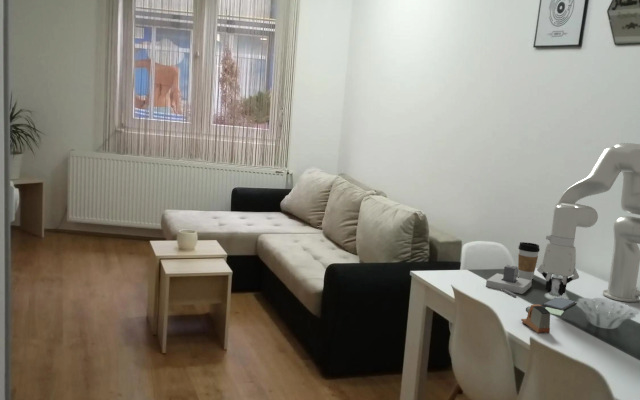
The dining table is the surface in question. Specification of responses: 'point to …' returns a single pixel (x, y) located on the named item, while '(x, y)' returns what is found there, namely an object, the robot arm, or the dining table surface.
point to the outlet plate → (509, 284)
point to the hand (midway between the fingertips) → (555, 292)
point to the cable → (509, 293)
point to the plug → (555, 286)
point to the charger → (510, 273)
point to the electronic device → (537, 318)
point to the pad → (555, 311)
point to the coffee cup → (527, 260)
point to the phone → (559, 303)
